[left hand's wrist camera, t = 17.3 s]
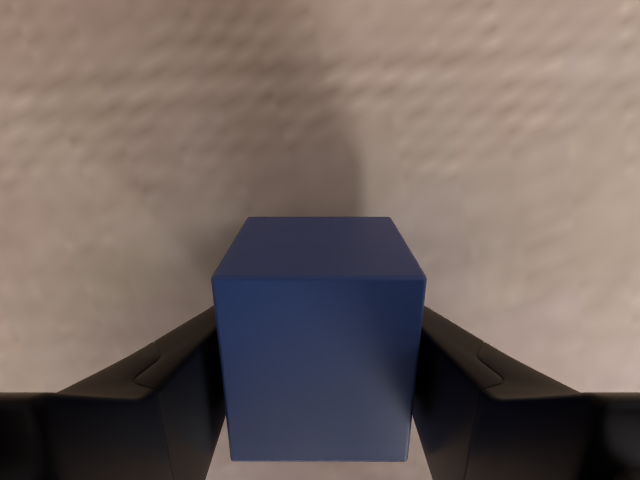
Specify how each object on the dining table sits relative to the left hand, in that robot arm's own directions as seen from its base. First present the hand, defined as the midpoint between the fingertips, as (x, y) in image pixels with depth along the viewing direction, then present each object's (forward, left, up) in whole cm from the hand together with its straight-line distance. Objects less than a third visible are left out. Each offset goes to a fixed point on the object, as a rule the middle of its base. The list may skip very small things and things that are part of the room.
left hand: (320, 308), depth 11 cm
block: (0, 0, -1) cm, 1 cm away
